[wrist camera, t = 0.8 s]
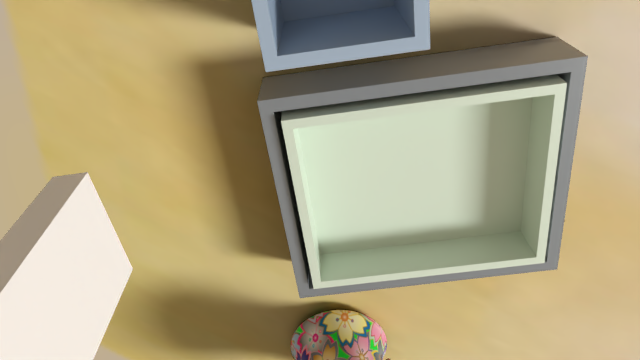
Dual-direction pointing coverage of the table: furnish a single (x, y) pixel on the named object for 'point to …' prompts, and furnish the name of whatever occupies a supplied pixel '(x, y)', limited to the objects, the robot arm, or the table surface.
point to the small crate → (338, 30)
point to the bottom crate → (418, 78)
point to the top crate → (426, 180)
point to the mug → (339, 337)
